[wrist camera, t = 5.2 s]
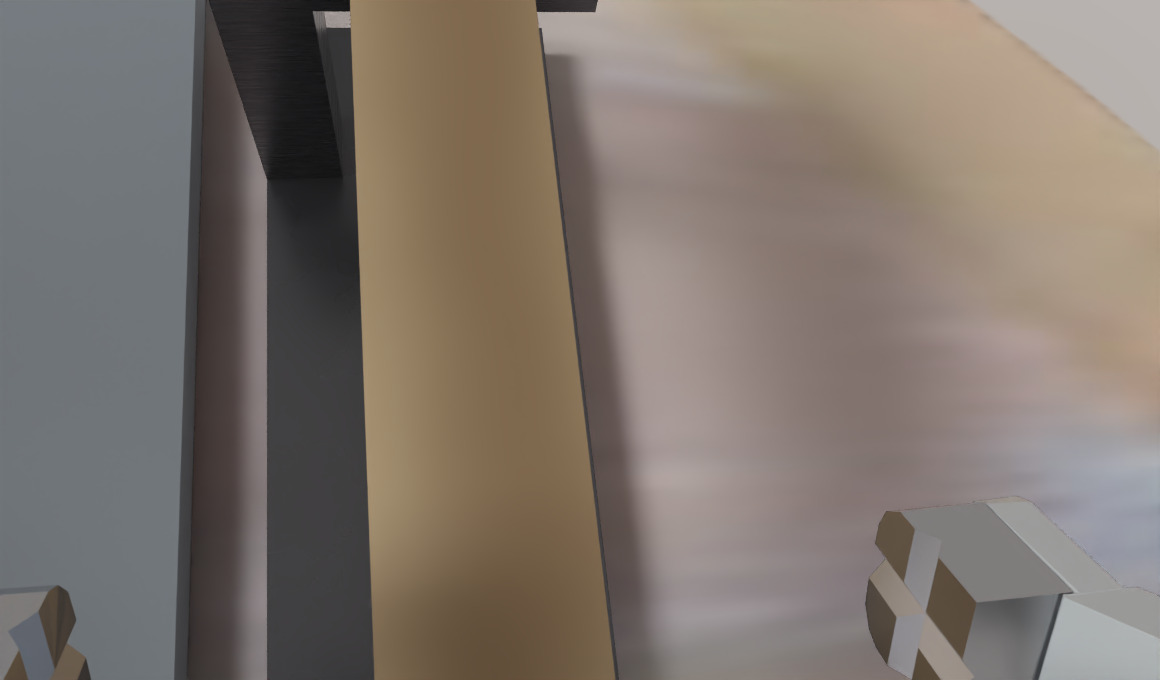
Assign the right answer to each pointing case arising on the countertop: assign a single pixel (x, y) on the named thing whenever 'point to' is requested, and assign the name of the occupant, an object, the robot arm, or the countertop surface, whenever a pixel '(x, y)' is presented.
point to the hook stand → (319, 332)
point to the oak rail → (469, 354)
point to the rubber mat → (101, 317)
